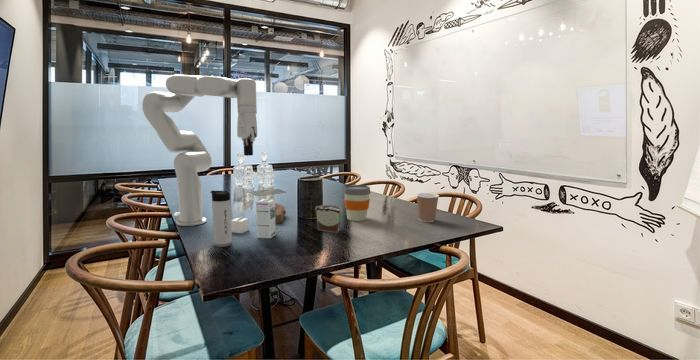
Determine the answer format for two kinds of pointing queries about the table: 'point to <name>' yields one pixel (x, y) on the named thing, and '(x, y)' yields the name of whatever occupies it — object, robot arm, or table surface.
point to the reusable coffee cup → (356, 201)
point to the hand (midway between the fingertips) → (248, 155)
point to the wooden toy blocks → (279, 213)
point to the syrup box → (266, 218)
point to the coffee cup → (427, 206)
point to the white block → (239, 225)
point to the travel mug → (221, 218)
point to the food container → (328, 217)
